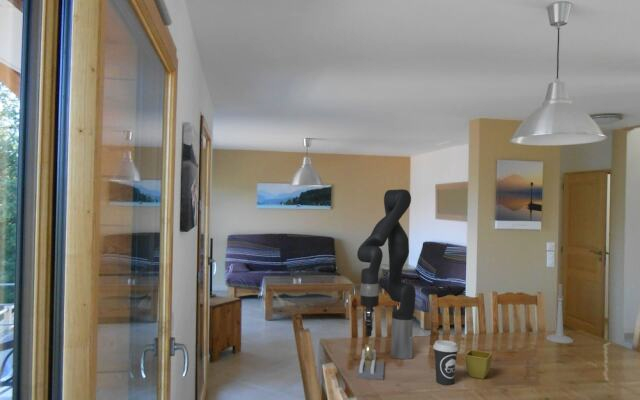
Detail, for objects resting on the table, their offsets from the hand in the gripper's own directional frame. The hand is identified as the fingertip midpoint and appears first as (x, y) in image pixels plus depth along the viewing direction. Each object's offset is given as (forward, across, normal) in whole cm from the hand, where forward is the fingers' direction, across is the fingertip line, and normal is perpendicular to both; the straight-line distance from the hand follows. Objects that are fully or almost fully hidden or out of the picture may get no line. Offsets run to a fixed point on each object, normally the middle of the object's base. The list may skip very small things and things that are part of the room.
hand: (369, 333), depth 198 cm
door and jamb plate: (+15, -2, -1) cm, 15 cm away
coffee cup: (+15, -10, -30) cm, 35 cm away
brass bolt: (+13, +2, 0) cm, 13 cm away
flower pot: (+15, 0, -44) cm, 46 cm away
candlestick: (+17, +70, -97) cm, 121 cm away
